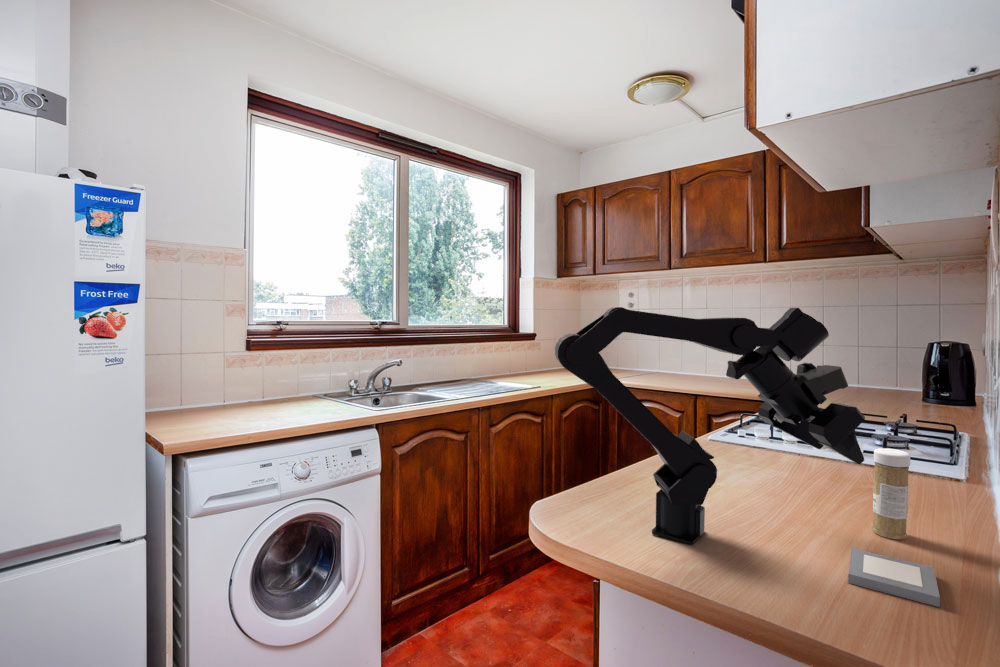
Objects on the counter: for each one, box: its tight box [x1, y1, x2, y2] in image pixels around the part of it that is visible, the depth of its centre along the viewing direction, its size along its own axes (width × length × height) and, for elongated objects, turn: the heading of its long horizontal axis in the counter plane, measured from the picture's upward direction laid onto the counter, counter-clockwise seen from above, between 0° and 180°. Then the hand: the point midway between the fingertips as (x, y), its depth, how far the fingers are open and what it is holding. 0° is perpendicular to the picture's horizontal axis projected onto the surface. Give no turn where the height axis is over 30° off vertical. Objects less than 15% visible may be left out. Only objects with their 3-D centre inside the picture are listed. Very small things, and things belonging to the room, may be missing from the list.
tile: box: [847, 547, 941, 608], centre depth 66 cm, size 9×9×1 cm
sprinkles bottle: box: [871, 447, 911, 540], centre depth 79 cm, size 5×5×13 cm
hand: (840, 454), depth 79 cm, fingers open, 9 cm apart
